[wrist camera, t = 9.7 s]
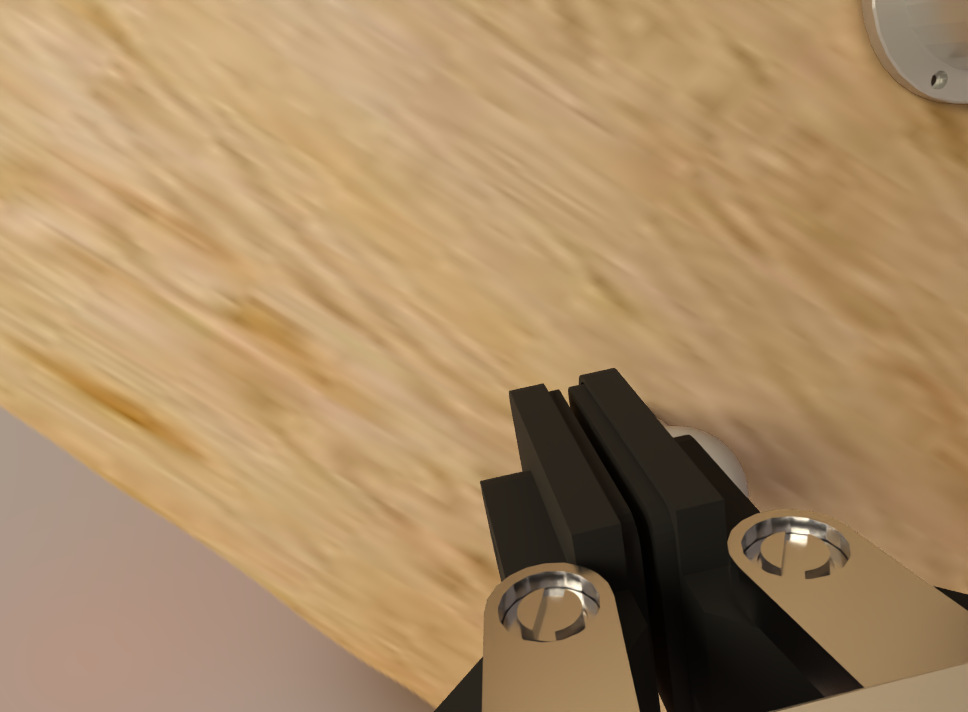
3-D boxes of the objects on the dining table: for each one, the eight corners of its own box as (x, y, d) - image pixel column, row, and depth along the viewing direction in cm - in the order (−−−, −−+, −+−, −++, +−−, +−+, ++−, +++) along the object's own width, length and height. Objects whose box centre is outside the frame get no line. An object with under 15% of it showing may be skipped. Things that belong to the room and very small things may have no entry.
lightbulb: (553, 409, 42) (611, 516, 31) (647, 349, 41) (737, 437, 31) (606, 486, 44) (676, 610, 34) (696, 430, 43) (795, 538, 33)
